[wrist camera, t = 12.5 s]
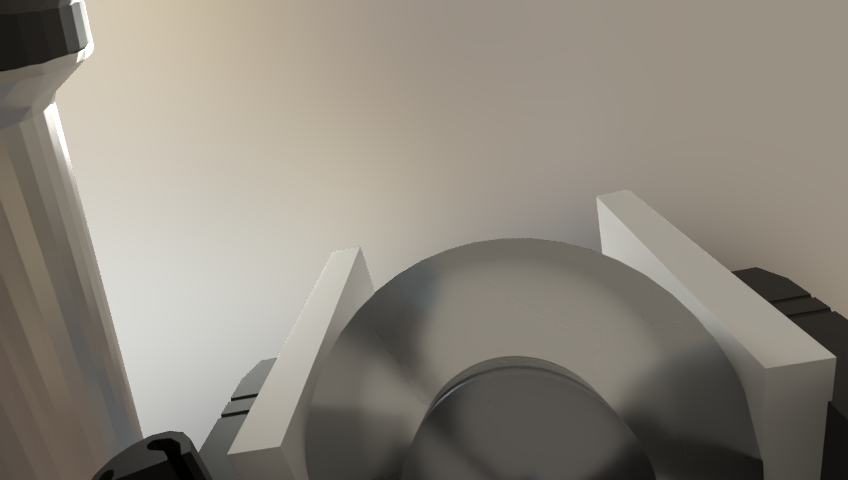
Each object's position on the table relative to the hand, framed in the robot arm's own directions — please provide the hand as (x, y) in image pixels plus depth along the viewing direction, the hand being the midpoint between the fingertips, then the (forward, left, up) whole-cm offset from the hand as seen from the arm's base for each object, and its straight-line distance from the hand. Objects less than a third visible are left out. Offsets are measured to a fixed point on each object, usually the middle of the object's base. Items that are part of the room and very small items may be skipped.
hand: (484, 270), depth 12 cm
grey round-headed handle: (0, +3, -8) cm, 8 cm away
